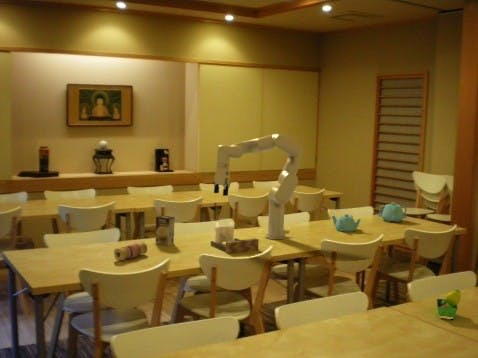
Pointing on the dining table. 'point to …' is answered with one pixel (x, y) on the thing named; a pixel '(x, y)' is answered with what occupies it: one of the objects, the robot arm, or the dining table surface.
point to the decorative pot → (392, 212)
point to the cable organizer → (224, 233)
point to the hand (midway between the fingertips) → (220, 194)
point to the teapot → (345, 223)
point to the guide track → (238, 245)
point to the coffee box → (164, 230)
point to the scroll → (130, 251)
